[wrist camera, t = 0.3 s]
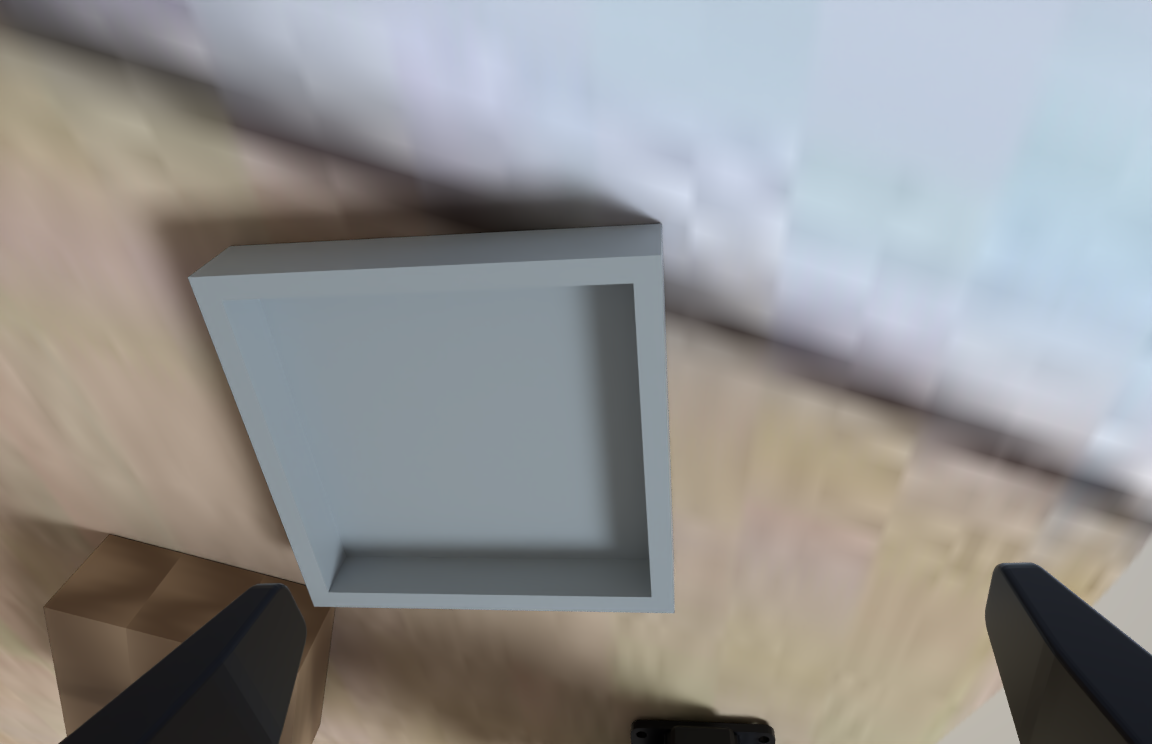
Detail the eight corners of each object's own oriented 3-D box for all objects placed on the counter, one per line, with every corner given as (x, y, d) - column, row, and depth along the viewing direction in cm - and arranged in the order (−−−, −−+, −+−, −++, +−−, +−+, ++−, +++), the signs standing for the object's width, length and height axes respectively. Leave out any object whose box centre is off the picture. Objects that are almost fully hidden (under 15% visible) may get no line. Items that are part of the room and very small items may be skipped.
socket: (336, 594, 33) (298, 672, 29) (320, 724, 38) (285, 804, 34) (109, 534, 32) (43, 606, 29) (124, 675, 37) (69, 750, 34)
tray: (673, 563, 30) (674, 613, 27) (338, 560, 31) (314, 606, 29) (661, 223, 22) (661, 255, 20) (229, 246, 24) (188, 277, 22)
